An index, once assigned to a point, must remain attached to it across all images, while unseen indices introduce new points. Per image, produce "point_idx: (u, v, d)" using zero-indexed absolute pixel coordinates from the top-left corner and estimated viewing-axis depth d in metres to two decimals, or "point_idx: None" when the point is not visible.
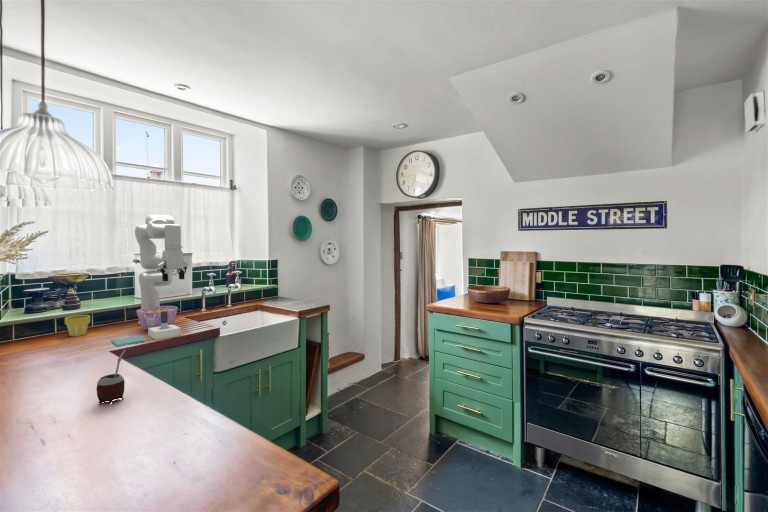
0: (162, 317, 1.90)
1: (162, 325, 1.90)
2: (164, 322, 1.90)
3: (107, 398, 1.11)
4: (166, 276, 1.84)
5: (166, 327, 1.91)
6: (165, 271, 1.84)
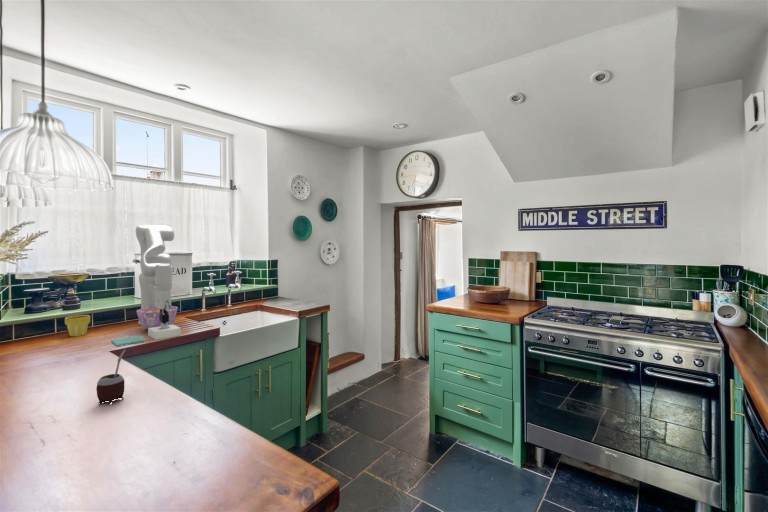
0: None
1: (162, 325, 1.90)
2: (164, 322, 1.90)
3: (107, 398, 1.11)
4: (168, 317, 1.91)
5: (166, 327, 1.91)
6: (168, 312, 1.90)
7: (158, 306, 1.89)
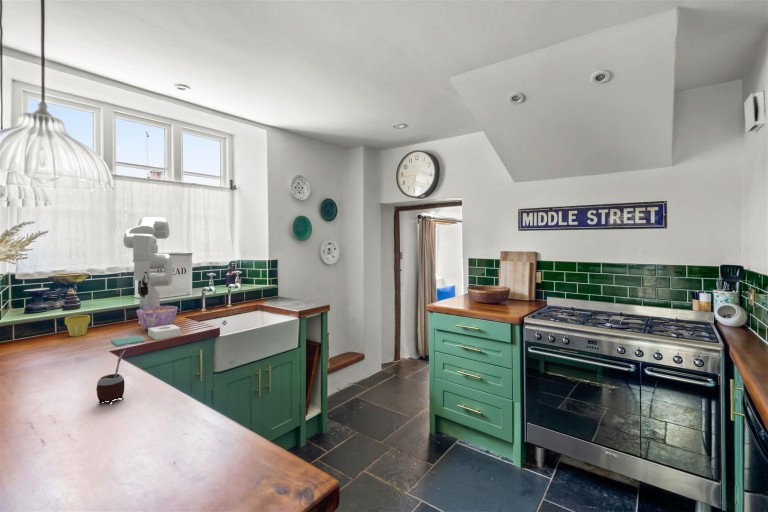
0: None
1: (141, 298, 1.83)
2: (143, 295, 1.83)
3: (107, 398, 1.11)
4: (147, 289, 1.83)
5: (145, 300, 1.84)
6: (147, 284, 1.83)
7: (136, 278, 1.81)
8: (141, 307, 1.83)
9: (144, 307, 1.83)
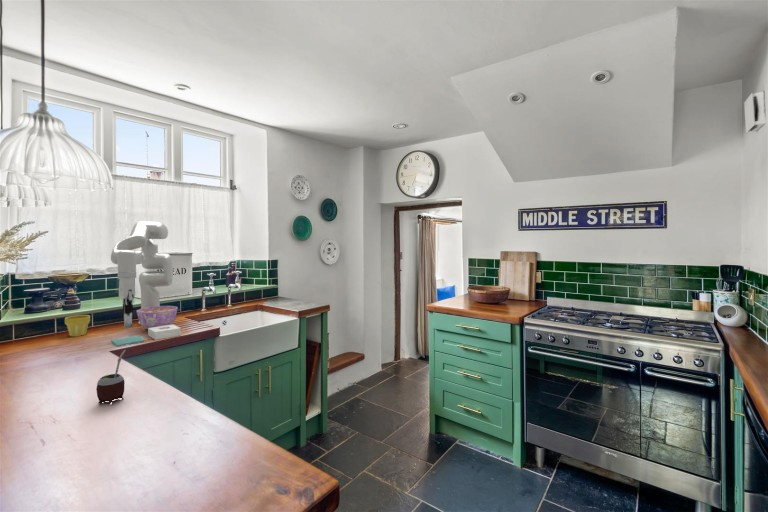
0: None
1: (125, 316, 1.78)
2: (127, 313, 1.78)
3: (107, 398, 1.11)
4: (131, 307, 1.79)
5: (130, 318, 1.79)
6: (132, 302, 1.78)
7: (121, 295, 1.76)
8: (125, 325, 1.78)
9: (129, 325, 1.79)
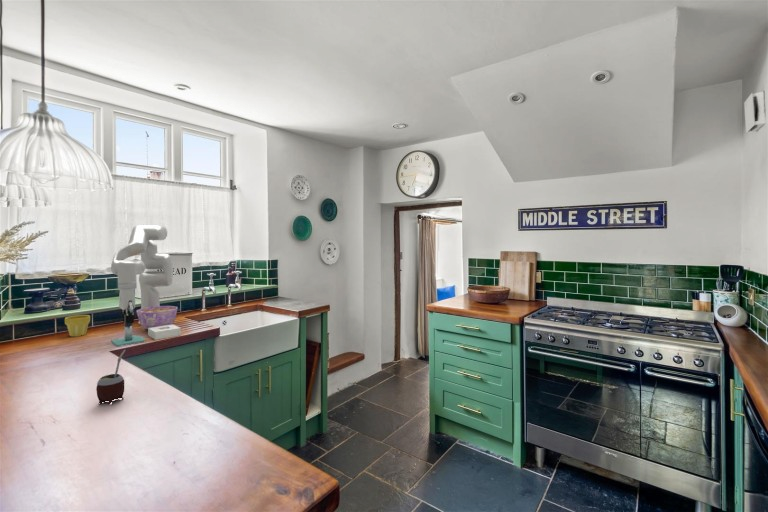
0: None
1: (126, 329, 1.78)
2: (128, 326, 1.79)
3: (107, 398, 1.11)
4: (132, 318, 1.78)
5: (130, 331, 1.79)
6: (133, 313, 1.78)
7: (121, 306, 1.77)
8: (126, 338, 1.79)
9: (129, 338, 1.79)
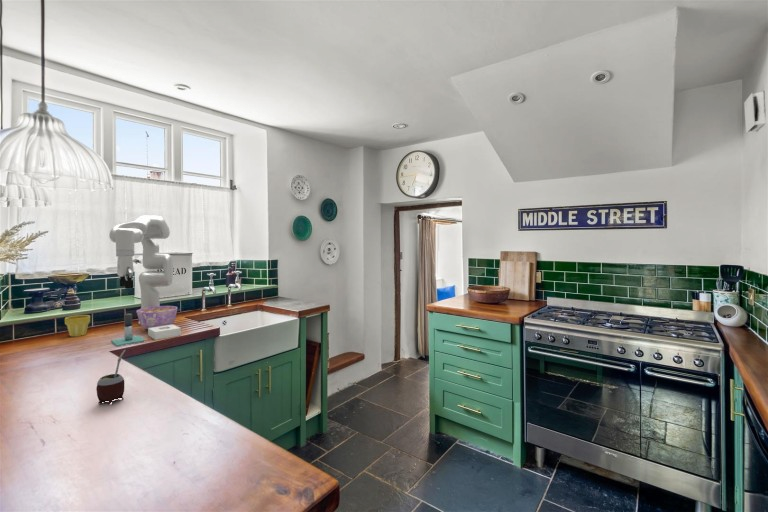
0: (126, 320, 1.78)
1: (126, 329, 1.78)
2: (128, 326, 1.79)
3: (107, 398, 1.11)
4: (132, 283, 1.78)
5: (130, 331, 1.80)
6: (132, 278, 1.78)
7: (119, 273, 1.78)
8: (126, 338, 1.79)
9: (129, 338, 1.79)
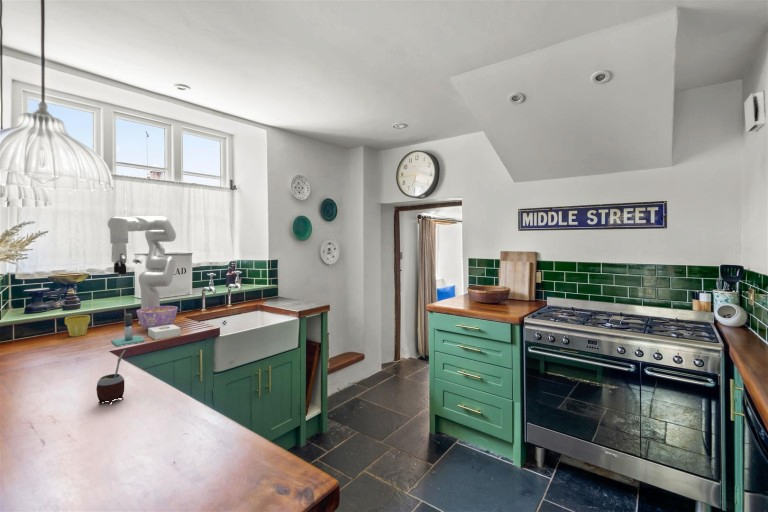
0: (126, 320, 1.78)
1: (126, 329, 1.78)
2: (128, 326, 1.79)
3: (107, 398, 1.11)
4: (125, 269, 1.86)
5: (130, 331, 1.80)
6: (125, 264, 1.85)
7: (113, 259, 1.85)
8: (126, 338, 1.79)
9: (129, 338, 1.79)
